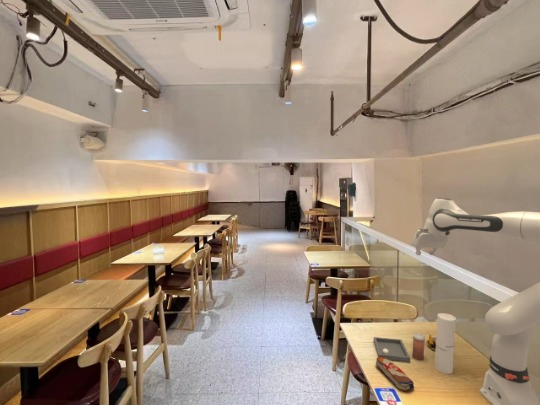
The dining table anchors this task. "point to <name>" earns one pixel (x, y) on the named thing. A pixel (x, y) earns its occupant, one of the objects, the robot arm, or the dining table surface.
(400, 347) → the tray
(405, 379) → the pencil case
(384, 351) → the mixing ball
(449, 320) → the cylindrical container
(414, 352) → the shaker
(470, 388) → the dining table surface
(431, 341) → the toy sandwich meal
